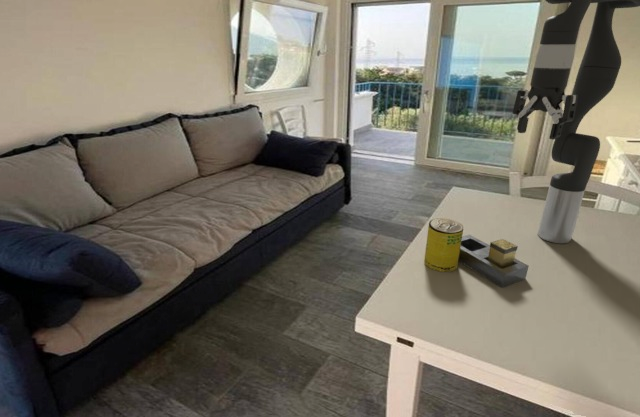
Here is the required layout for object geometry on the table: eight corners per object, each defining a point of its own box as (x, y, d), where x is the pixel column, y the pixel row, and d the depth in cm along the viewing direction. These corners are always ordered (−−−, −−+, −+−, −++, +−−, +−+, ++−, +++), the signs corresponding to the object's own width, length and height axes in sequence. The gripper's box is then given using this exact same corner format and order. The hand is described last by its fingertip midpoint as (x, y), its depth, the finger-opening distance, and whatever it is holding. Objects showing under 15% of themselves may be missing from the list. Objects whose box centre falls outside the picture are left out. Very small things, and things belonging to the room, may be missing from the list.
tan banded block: (496, 267, 105) (502, 238, 101) (510, 275, 101) (517, 246, 98) (484, 271, 103) (490, 242, 99) (498, 280, 99) (505, 250, 96)
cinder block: (467, 246, 116) (469, 234, 115) (525, 278, 100) (528, 265, 98) (445, 252, 113) (446, 240, 111) (501, 287, 96) (504, 274, 94)
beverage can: (460, 260, 108) (466, 222, 104) (453, 275, 101) (459, 235, 97) (429, 252, 113) (433, 215, 108) (420, 266, 106) (424, 227, 101)
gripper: (594, 67, 83) (574, 140, 89) (534, 64, 95) (521, 129, 101) (573, 67, 80) (554, 143, 86) (514, 65, 92) (502, 132, 98)
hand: (536, 135), depth 94 cm, fingers open, 8 cm apart
